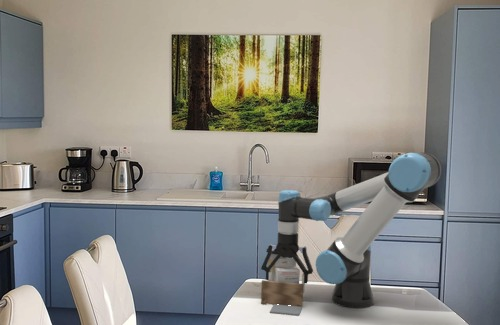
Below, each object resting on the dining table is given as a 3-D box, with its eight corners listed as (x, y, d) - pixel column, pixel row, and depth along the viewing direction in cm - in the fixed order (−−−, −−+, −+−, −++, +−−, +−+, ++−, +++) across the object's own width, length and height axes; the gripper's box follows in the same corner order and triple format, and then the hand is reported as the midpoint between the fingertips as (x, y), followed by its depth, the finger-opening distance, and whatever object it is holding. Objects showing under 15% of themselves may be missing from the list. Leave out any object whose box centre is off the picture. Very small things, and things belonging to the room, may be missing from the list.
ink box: (276, 301, 198) (277, 262, 197) (273, 297, 203) (274, 258, 202) (299, 300, 199) (300, 261, 198) (295, 296, 204) (296, 258, 203)
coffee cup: (286, 287, 216) (287, 250, 215) (263, 285, 218) (264, 248, 217) (290, 280, 225) (290, 245, 224) (267, 279, 227) (268, 243, 226)
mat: (301, 308, 191) (302, 306, 191) (298, 315, 183) (298, 314, 183) (274, 305, 193) (274, 304, 193) (269, 312, 186) (269, 311, 186)
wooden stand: (303, 304, 195) (303, 283, 194) (302, 308, 191) (302, 285, 191) (262, 300, 198) (263, 279, 198) (260, 304, 195) (261, 282, 194)
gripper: (321, 232, 200) (319, 290, 202) (258, 228, 206) (256, 284, 207) (319, 236, 193) (317, 296, 194) (253, 232, 198) (252, 290, 200)
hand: (286, 290), depth 201 cm, fingers open, 12 cm apart
